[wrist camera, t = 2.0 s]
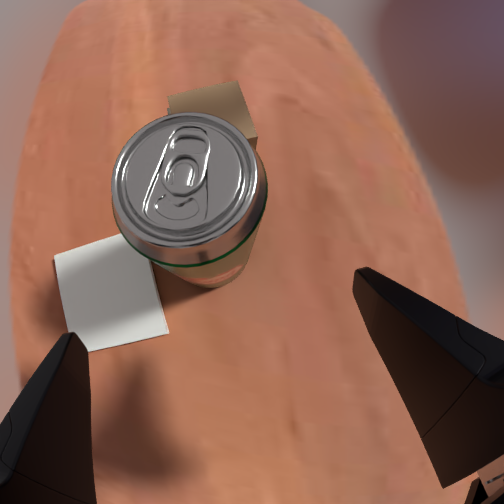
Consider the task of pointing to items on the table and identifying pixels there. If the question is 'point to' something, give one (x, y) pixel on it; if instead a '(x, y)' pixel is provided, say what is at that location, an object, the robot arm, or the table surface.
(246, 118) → the letter cube
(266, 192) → the soda can
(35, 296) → the table surface
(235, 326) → the table surface
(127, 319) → the coaster
